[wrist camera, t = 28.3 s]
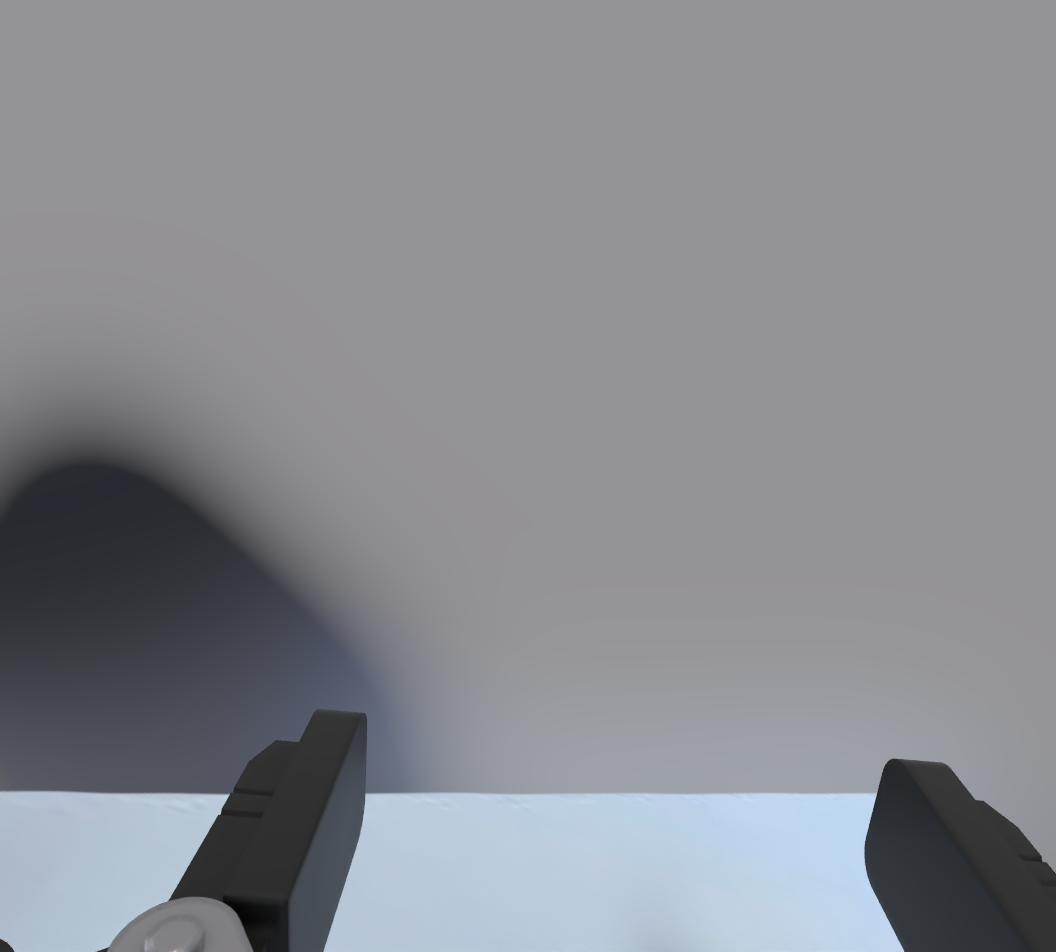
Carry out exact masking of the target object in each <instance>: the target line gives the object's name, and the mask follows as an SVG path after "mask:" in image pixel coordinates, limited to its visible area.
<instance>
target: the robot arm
mask: <svg viewBox="0 0 1056 952" xmlns="http://www.w3.org/2000/svg"><path fill="white" fill-rule="evenodd" d="M366 743H367V718H366V714H365V713H358V712H345V711H334V710H322V709H317V710H316V711H315V712H314V714H313V716H312V718H311V720H310V722H309V724H308V726H307V728H306V730H305V732H304V734H303V736H302V738H301V740H300V742H290V741H278V740H277V741H275V742H273V743H272V744H271V745H269V746H268V747H267V748H266V749H265V750H263V751H262V752H261V753H259V754H258V755H257V756H256V757H254V758H253V759H252V760H251V761H249V763H248V765H247V766H246V768H245V770H244V771H243V773H242V775H241V777H240V778H239V780H238V782H237V784H236V786H235V787H234V792H233V793H231V794H230V796H229V797H228V799H227V801H226V803H225V804H224V806H223V808H222V811H221V815H218V816H217V818H216V820H215V822H214V823H213V825H212V827H211V828H210V830H209V832H208V834H207V835H206V837H205V839H204V841H203V842H202V844H201V846H200V847H199V849H198V851H197V853H196V854H195V856H194V858H193V860H192V861H191V863H190V865H189V866H188V868H187V870H186V872H185V873H184V875H183V877H182V879H181V880H180V882H179V884H178V885H177V887H176V889H175V891H174V892H173V894H172V896H171V898H170V899H169V901H168V902H165V903H162V904H160V905H157V906H155V907H153V908H151V909H149V910H147V911H146V912H144V913H142V914H141V915H139V916H138V917H136V918H135V919H134V920H132V921H131V922H130V923H129V924H128V925H127V926H126V927H125V928H124V929H122V930H121V931H120V933H119V934H118V935H117V936H116V938H115V939H114V940H113V942H112V943H111V945H110V947H108V948H106V949H103V950H100V951H97V952H323V951H324V948H325V944H326V941H327V938H328V935H329V932H330V929H331V925H332V922H333V919H334V916H335V913H336V910H337V907H338V903H339V900H340V897H341V894H342V891H343V888H344V884H345V881H346V878H347V875H348V872H349V869H350V865H351V862H352V859H353V856H354V853H355V850H356V846H357V843H358V840H359V836H360V831H361V827H362V821H363V814H364V806H365V785H366V745H367V744H366ZM1041 858H1042V857H1041V855H1040V854H1039V853H1038V851H1037V850H1036V849H1035V848H1034V847H1033V845H1032V844H1031V843H1030V842H1029V841H1028V839H1027V838H1026V837H1025V836H1024V834H1023V833H1022V832H1021V831H1020V829H1019V828H1018V827H1016V826H1015V825H1014V824H1013V823H1012V822H1010V821H1009V820H1008V819H1006V818H1005V817H1004V816H1002V815H1001V814H1000V813H998V812H997V811H996V810H994V809H993V808H992V807H991V806H989V805H988V804H987V803H985V802H984V801H977V800H975V799H974V798H973V797H972V795H971V794H970V793H969V791H968V790H967V789H966V788H965V786H964V785H963V784H962V782H961V781H960V780H959V779H958V777H957V776H956V775H955V773H954V772H953V771H952V770H951V769H950V768H949V767H948V766H947V765H946V764H944V763H940V762H927V761H916V760H904V759H891V760H889V761H888V762H887V764H886V765H885V767H884V769H883V772H882V776H881V781H880V784H879V788H878V792H877V796H876V800H875V804H874V808H873V812H872V816H871V820H870V824H869V828H868V832H867V836H866V841H865V865H866V871H867V875H868V879H869V882H870V884H871V887H872V889H873V891H874V893H875V895H876V897H877V899H878V901H879V903H880V904H881V906H882V908H883V910H884V912H885V914H886V916H887V918H888V920H889V922H890V924H891V926H892V928H893V930H894V932H895V934H896V936H897V938H898V940H899V942H900V944H901V946H902V947H903V949H904V951H905V952H1056V874H1055V872H1054V871H1053V870H1052V869H1051V867H1050V866H1049V865H1048V864H1047V863H1046V862H1042V859H1041ZM0 952H14V950H13V948H12V947H11V946H10V945H9V944H8V943H7V942H5V941H3V940H1V939H0Z"/></svg>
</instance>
